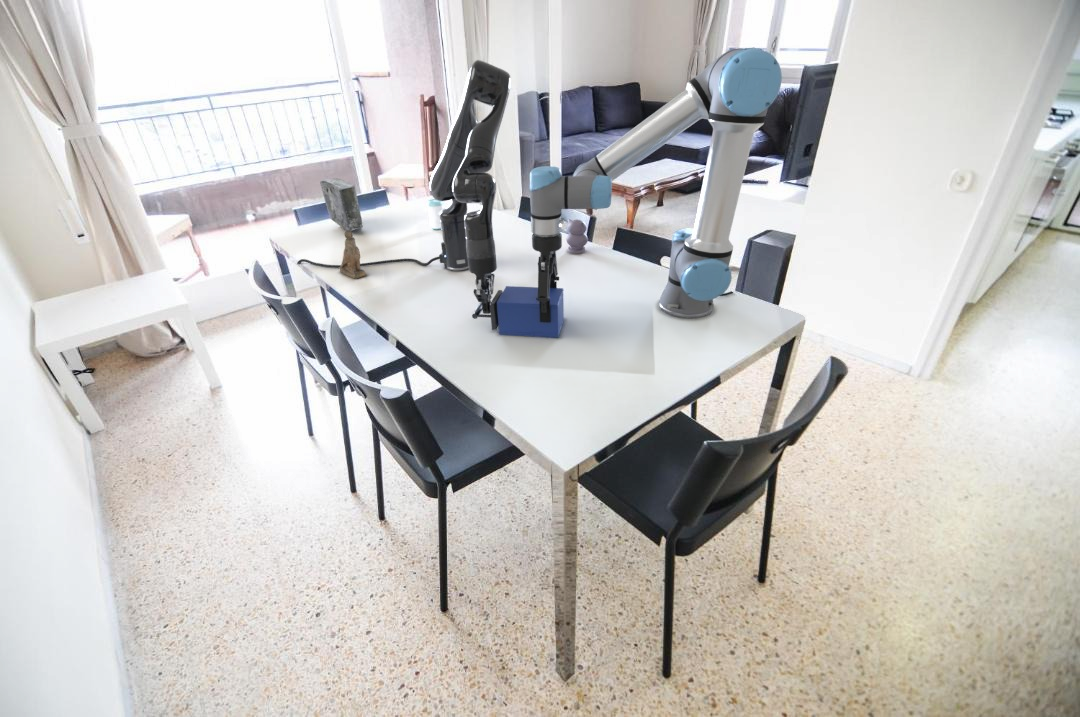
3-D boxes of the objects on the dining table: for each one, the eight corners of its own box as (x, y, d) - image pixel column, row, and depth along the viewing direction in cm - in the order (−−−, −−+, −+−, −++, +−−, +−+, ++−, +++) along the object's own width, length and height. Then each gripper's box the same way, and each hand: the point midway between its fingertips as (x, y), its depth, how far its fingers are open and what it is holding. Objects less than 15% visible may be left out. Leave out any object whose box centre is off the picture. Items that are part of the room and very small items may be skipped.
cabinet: (499, 334, 136) (496, 302, 131) (508, 316, 145) (506, 285, 140) (558, 337, 133) (557, 304, 128) (563, 319, 142) (563, 288, 137)
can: (445, 229, 220) (441, 202, 214) (429, 230, 220) (425, 202, 214) (447, 224, 226) (444, 198, 220) (432, 225, 226) (428, 198, 220)
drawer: (473, 328, 137) (470, 303, 133) (482, 313, 145) (479, 289, 141) (545, 332, 134) (544, 306, 130) (550, 316, 142) (550, 292, 138)
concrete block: (368, 232, 220) (358, 186, 209) (348, 237, 216) (336, 189, 205) (349, 220, 239) (338, 176, 228) (330, 223, 234) (319, 179, 224)
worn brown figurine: (368, 281, 178) (362, 235, 166) (353, 285, 175) (347, 238, 163) (352, 266, 184) (346, 221, 172) (338, 270, 181) (331, 224, 169)
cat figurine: (592, 250, 190) (592, 219, 184) (579, 256, 185) (579, 224, 179) (574, 246, 195) (575, 215, 189) (561, 251, 191) (561, 220, 184)
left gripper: (488, 262, 124) (494, 324, 133) (501, 245, 135) (505, 303, 144) (459, 261, 125) (467, 322, 134) (474, 244, 136) (480, 302, 145)
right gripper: (554, 248, 114) (556, 333, 125) (567, 219, 133) (567, 295, 145) (522, 248, 115) (527, 331, 127) (540, 219, 134) (542, 294, 146)
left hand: (487, 312), depth 139 cm, fingers closed
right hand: (548, 312), depth 136 cm, fingers closed on cabinet, 11 cm apart
